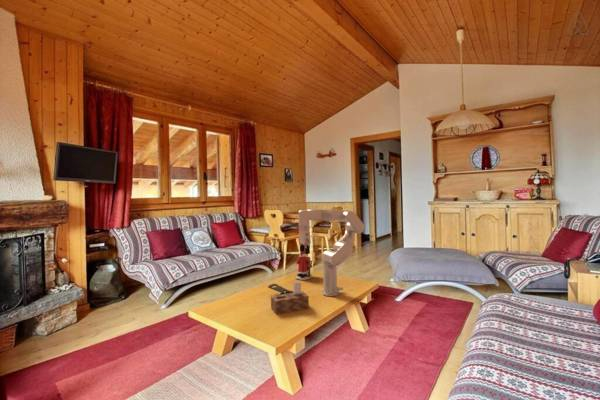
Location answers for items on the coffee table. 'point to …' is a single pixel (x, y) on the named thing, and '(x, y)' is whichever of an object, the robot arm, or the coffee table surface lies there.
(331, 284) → the robot arm
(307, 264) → the santa figurine
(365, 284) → the coffee table surface
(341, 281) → the coffee table surface
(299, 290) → the pinkish wooden bar
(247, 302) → the coffee table surface
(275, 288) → the zipper pull
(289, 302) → the slotted wooden block
